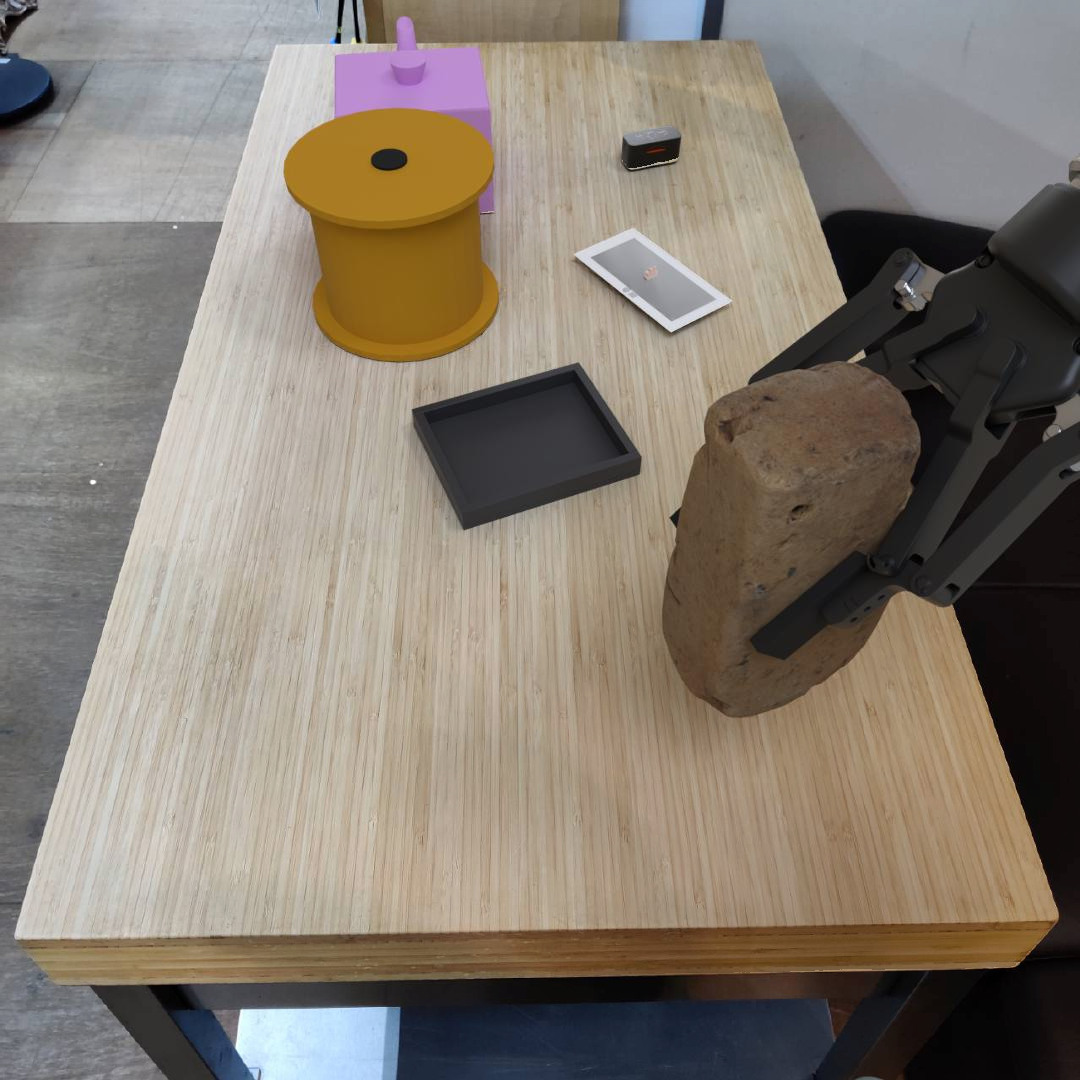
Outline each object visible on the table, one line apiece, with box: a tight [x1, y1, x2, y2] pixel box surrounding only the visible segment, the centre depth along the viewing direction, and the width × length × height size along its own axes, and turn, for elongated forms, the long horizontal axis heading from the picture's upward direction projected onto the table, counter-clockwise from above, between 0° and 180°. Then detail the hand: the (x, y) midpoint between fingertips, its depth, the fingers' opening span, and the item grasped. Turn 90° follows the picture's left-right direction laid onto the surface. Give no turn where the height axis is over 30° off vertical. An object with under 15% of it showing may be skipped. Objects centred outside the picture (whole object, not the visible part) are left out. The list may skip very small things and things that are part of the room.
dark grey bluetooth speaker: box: [620, 125, 682, 168], centre depth 111 cm, size 5×7×3 cm, turn 109°
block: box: [661, 361, 922, 719], centre depth 49 cm, size 11×8×20 cm
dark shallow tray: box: [411, 362, 643, 531], centre depth 83 cm, size 13×16×2 cm
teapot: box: [333, 15, 495, 213], centre depth 104 cm, size 15×25×14 cm, turn 7°
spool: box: [282, 108, 500, 363], centre depth 90 cm, size 18×18×15 cm
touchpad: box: [572, 227, 734, 333], centre depth 97 cm, size 8×15×2 cm, turn 36°
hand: (725, 586), depth 50 cm, fingers closed on block, 7 cm apart
